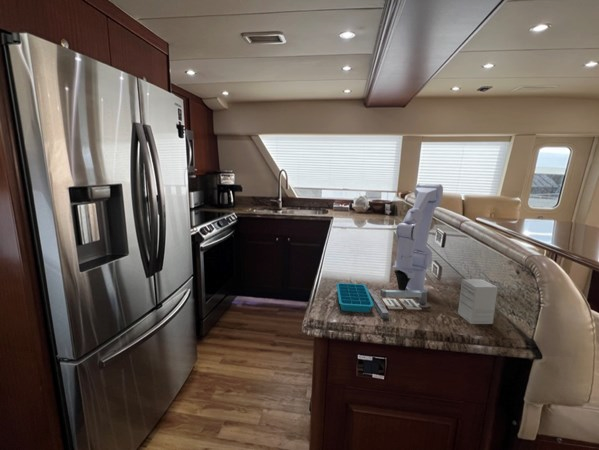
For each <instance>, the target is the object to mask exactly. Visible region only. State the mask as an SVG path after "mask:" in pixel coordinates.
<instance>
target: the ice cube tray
mask: <svg viewBox="0 0 599 450" xmlns="http://www.w3.org/2000/svg"><path fill="white" fill-rule="evenodd" d="M336 289H337V291H336V292H337V296H338V297H337V298H338V304H339V305H340V310H341V311H344V312H355V313H356V312H358V313H370V312H371V310H372V308H373V307H375V306H374V304H373V302H372V299H371V297H370V295H369V292H368V290H367V289H368V288H367V286H366V284H363V283H349V282H348V283H346V282H338V283H336Z"/></svg>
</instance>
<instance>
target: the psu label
mask: <svg viewBox="0 0 599 450" xmlns="http://www.w3.org/2000/svg"><path fill="white" fill-rule="evenodd" d="M381 300H382V301H383V303H384V304H385V305H386V307H387V308H388V309H389V310H404V308H403V306H402V305H401V304H400V302H399V301H398V300H397V299H396V298H384V297H381Z"/></svg>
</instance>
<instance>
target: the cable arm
mask: <svg viewBox="0 0 599 450" xmlns="http://www.w3.org/2000/svg"><path fill="white" fill-rule="evenodd" d="M379 294H380V296H381V298H391V297H393V298H418V300H417V301H418V303H419V304H422V305H425V304H426V303H427V299H428V291H424V290H420V291H413V290H407V289H405V290H399V289H385V288H381V289H380V293H379Z"/></svg>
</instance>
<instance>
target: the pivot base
mask: <svg viewBox="0 0 599 450" xmlns="http://www.w3.org/2000/svg"><path fill="white" fill-rule="evenodd" d="M418 301H419V300H416V301H415V303H416V304H417V305H418V306H419V307H420V308H424V309H426V308H430V303H428V302H426V304H425V305H422V304H419V303H418Z"/></svg>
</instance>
